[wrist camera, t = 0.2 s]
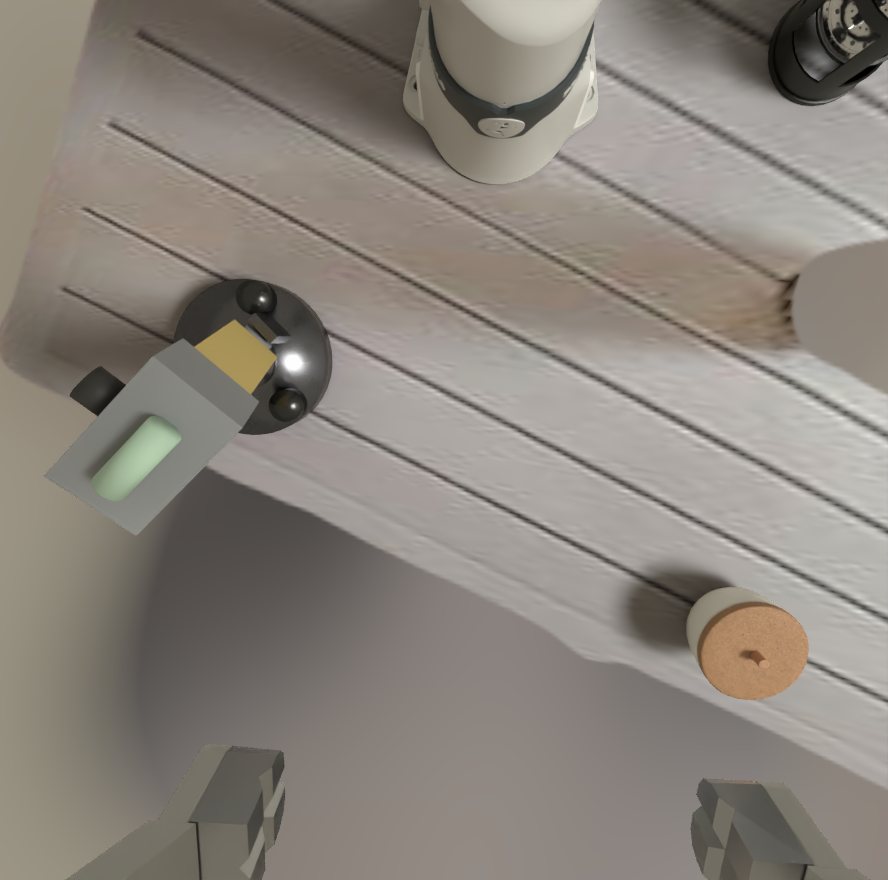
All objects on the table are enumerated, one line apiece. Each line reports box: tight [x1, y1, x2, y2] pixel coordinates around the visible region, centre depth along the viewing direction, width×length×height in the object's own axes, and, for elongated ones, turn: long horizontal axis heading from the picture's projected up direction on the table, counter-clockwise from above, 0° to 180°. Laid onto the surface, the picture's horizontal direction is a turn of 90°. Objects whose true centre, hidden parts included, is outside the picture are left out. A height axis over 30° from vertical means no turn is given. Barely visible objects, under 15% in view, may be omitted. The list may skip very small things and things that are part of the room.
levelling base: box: [174, 279, 332, 435], centre depth 53 cm, size 16×16×7 cm
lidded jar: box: [686, 587, 809, 700], centre depth 55 cm, size 11×11×9 cm
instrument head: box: [44, 320, 277, 536], centre depth 40 cm, size 8×10×26 cm
